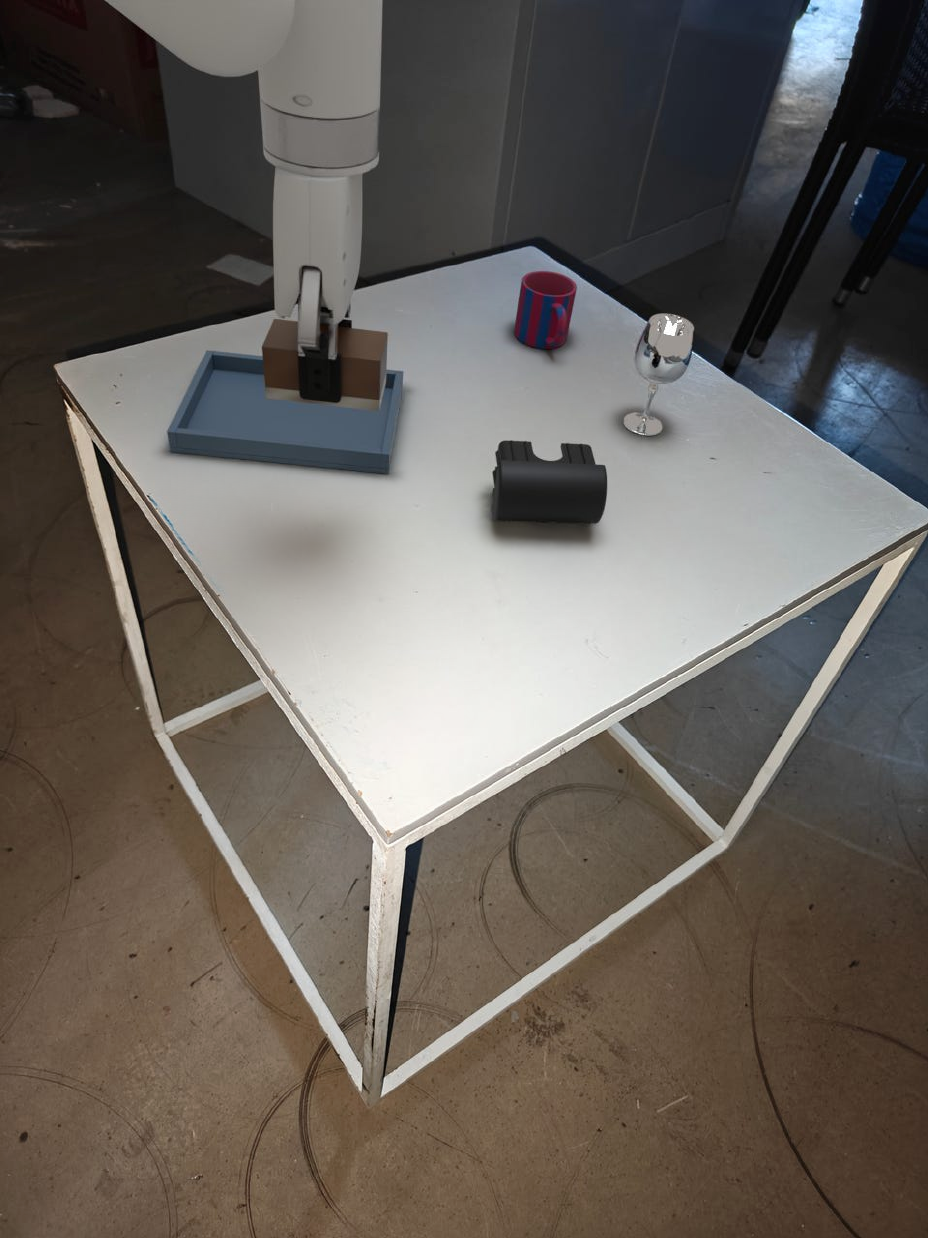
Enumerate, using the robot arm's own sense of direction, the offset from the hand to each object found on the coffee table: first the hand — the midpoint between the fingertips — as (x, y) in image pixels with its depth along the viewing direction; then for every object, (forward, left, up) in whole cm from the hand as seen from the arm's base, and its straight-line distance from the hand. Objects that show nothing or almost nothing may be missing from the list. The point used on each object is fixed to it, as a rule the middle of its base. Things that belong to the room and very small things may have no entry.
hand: (326, 379), depth 69 cm
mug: (+21, +38, -15) cm, 46 cm away
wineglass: (+32, +22, -15) cm, 42 cm away
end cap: (+20, +4, -15) cm, 25 cm away
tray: (-6, +16, -15) cm, 23 cm away
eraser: (0, 0, -1) cm, 1 cm away
